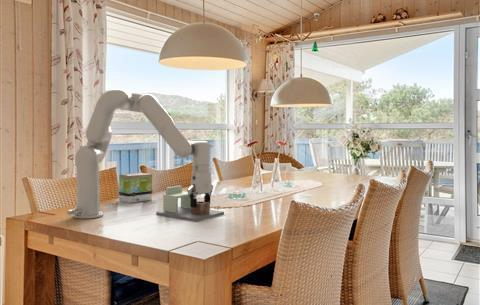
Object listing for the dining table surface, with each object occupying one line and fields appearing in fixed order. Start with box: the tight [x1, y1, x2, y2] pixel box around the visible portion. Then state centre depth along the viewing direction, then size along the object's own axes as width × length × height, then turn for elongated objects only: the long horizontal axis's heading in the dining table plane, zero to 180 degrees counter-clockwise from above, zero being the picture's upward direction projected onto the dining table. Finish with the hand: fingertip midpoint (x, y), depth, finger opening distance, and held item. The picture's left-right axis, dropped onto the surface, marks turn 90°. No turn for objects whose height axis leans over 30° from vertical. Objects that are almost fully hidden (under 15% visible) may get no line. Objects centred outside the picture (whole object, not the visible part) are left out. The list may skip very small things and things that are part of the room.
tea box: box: [118, 172, 153, 204], centre depth 224 cm, size 15×10×15 cm
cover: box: [162, 185, 195, 213], centre depth 195 cm, size 13×8×10 cm, turn 146°
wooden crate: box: [191, 200, 211, 215], centre depth 188 cm, size 6×6×5 cm
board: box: [155, 206, 225, 223], centre depth 191 cm, size 20×24×5 cm
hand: (200, 205), depth 188 cm, fingers open, 9 cm apart
